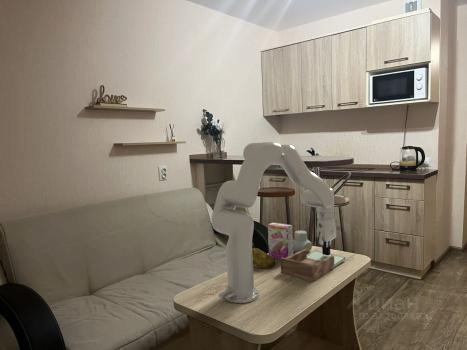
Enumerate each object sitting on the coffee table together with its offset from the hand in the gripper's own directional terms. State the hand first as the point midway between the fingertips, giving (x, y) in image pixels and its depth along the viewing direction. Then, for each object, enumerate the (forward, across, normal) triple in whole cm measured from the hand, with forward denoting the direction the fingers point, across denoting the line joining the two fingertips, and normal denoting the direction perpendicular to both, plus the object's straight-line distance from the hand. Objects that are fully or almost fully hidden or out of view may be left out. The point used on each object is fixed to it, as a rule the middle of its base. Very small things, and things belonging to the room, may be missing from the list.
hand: (326, 254), depth 158 cm
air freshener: (+3, +4, +16) cm, 17 cm away
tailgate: (+1, -6, 0) cm, 6 cm away
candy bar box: (+3, -10, +18) cm, 21 cm away
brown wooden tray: (+3, -16, 0) cm, 16 cm away
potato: (+3, -24, +19) cm, 31 cm away
